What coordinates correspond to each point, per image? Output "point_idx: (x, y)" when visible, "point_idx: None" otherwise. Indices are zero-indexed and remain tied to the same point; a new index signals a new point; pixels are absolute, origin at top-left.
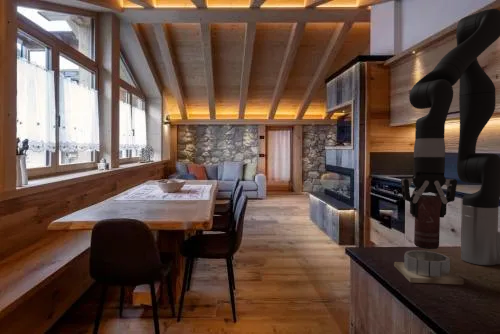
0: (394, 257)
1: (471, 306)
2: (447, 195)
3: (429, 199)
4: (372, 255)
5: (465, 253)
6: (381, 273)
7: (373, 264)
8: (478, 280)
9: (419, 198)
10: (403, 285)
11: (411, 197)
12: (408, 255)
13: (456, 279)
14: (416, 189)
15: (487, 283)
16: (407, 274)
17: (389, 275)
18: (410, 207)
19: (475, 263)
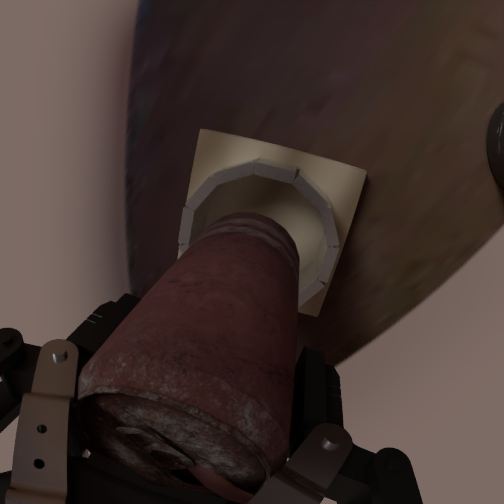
0: (263, 34)
1: None
2: (375, 496)
3: (148, 479)
4: (191, 10)
5: (500, 142)
6: (134, 194)
7: (145, 108)
8: (384, 291)
9: (90, 434)
10: (154, 284)
11: (42, 376)
12: (187, 229)
13: (299, 311)
14: (37, 446)
15: (387, 312)
16: (179, 253)
17: (148, 213)
18: (81, 333)
19: (494, 174)
